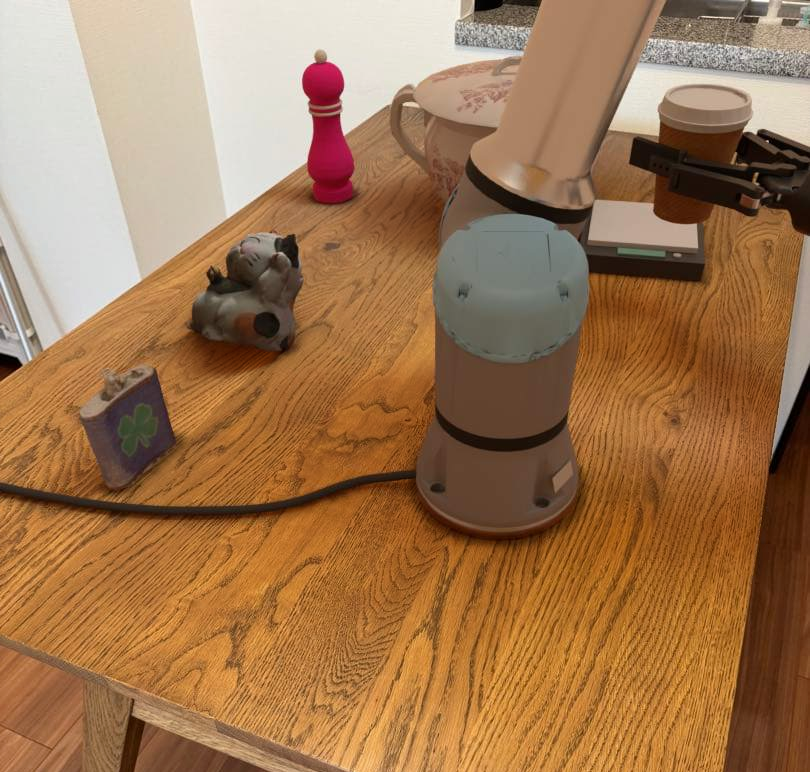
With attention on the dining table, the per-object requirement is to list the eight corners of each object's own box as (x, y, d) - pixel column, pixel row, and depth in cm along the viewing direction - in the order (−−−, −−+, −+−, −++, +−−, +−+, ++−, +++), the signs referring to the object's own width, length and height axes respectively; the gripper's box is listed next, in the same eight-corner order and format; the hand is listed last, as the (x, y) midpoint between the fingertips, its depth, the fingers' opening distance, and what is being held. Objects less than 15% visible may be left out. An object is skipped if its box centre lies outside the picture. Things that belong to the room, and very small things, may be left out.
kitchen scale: (575, 270, 103) (578, 247, 101) (584, 219, 114) (587, 197, 112) (700, 281, 101) (707, 257, 98) (697, 227, 111) (703, 205, 109)
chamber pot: (641, 221, 113) (672, 58, 98) (492, 276, 103) (501, 104, 88) (517, 163, 130) (527, 16, 115) (378, 205, 119) (370, 50, 105)
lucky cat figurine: (180, 322, 97) (199, 204, 92) (275, 341, 102) (297, 230, 97) (195, 350, 84) (218, 215, 79) (302, 370, 89) (329, 245, 84)
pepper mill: (365, 191, 123) (356, 46, 109) (338, 208, 119) (325, 59, 105) (328, 183, 126) (315, 40, 112) (301, 199, 122) (283, 53, 107)
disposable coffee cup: (728, 234, 85) (761, 113, 76) (637, 228, 86) (660, 109, 78) (722, 198, 91) (752, 83, 82) (638, 193, 93) (659, 80, 84)
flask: (120, 495, 75) (84, 403, 67) (97, 486, 76) (59, 394, 68) (183, 441, 80) (156, 350, 73) (161, 433, 81) (132, 343, 74)
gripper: (773, 276, 72) (589, 200, 85) (893, 211, 81) (710, 151, 94) (800, 194, 67) (600, 126, 80) (926, 134, 75) (727, 82, 88)
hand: (660, 140), depth 87 cm, fingers closed on disposable coffee cup, 8 cm apart
